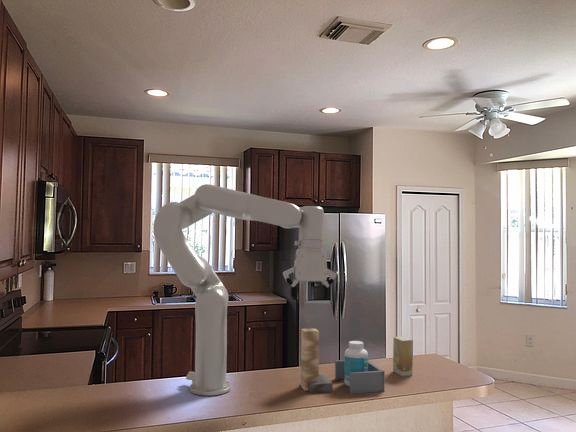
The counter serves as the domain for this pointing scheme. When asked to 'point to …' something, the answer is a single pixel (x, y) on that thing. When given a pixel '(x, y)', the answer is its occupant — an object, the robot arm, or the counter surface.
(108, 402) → the counter surface
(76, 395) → the counter surface
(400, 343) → the skincare box
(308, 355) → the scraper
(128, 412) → the counter surface
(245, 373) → the counter surface
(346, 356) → the pill bottle
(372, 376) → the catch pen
